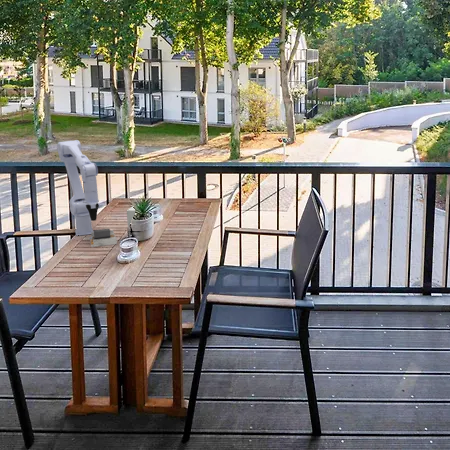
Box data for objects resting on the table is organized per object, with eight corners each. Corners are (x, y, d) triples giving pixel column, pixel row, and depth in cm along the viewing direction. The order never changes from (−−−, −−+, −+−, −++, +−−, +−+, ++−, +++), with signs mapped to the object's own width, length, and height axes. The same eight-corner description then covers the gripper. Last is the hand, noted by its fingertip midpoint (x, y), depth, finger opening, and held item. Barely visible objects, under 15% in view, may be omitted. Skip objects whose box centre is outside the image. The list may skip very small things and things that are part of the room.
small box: (139, 232, 301) (137, 210, 298) (128, 232, 302) (126, 210, 299) (144, 227, 308) (143, 206, 305) (133, 227, 309) (132, 206, 306)
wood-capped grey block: (94, 240, 286) (93, 230, 285) (110, 239, 288) (109, 228, 286) (94, 242, 283) (93, 232, 282) (110, 241, 285) (109, 230, 284)
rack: (89, 238, 293) (88, 232, 292) (113, 236, 296) (113, 229, 295) (91, 247, 281) (91, 240, 280) (116, 244, 284) (116, 237, 283)
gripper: (80, 188, 290) (83, 217, 294) (82, 195, 276) (85, 225, 280) (96, 186, 292) (99, 215, 295) (99, 193, 278) (102, 223, 282)
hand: (93, 220), depth 288 cm, fingers closed
